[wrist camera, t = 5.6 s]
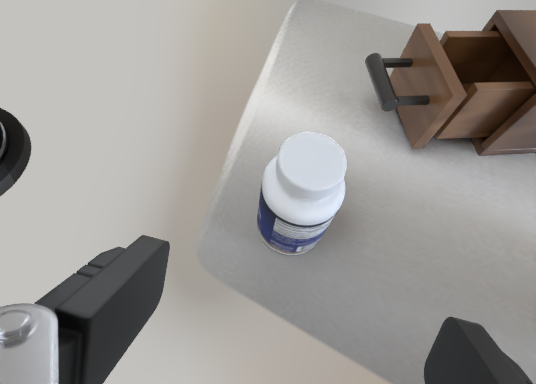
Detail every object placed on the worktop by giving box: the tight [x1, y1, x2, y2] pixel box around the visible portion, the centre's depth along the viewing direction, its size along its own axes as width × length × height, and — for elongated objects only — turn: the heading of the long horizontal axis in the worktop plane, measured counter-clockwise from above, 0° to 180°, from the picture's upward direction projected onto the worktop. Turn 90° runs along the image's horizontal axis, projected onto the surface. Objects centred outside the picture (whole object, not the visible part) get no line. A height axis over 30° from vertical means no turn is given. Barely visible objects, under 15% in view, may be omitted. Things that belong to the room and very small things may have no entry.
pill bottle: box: [257, 132, 347, 255], centre depth 23 cm, size 5×5×10 cm
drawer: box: [365, 24, 536, 148], centre depth 31 cm, size 15×8×7 cm, turn 97°
